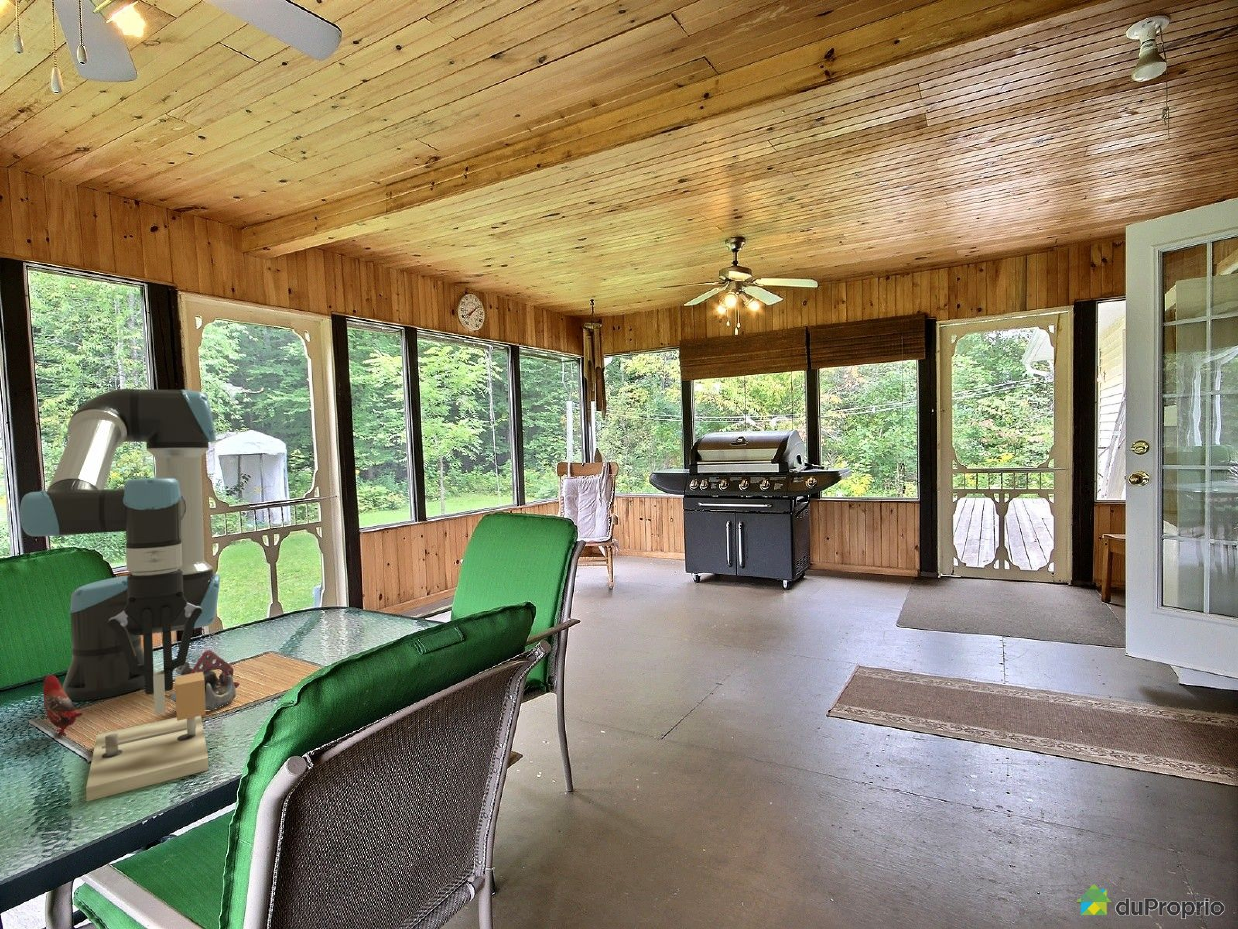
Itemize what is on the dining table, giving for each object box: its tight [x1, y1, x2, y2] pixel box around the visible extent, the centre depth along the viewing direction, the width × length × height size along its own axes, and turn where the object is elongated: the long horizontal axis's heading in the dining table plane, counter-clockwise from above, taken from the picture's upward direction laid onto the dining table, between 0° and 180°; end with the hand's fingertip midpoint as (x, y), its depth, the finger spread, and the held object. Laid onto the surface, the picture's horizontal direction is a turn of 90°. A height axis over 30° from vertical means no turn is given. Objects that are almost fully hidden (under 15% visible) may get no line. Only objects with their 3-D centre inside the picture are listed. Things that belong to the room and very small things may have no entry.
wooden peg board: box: [85, 716, 209, 802], centre depth 107 cm, size 22×15×5 cm
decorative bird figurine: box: [42, 674, 83, 736], centre depth 115 cm, size 3×18×10 cm, turn 57°
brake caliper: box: [168, 649, 240, 710], centre depth 129 cm, size 11×11×12 cm
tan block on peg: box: [174, 672, 207, 735], centre depth 110 cm, size 5×4×10 cm
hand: (160, 711), depth 107 cm, fingers closed
